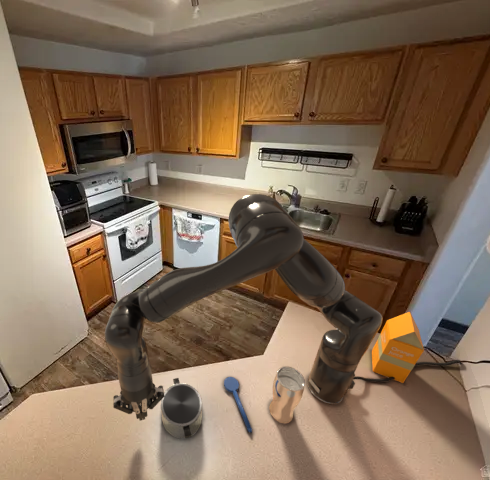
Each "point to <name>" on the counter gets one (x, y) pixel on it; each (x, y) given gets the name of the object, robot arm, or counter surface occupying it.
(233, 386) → the blue spoon
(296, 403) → the beer glass
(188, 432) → the steel pot
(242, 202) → the robot arm
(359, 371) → the counter surface
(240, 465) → the counter surface
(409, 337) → the orange juice
